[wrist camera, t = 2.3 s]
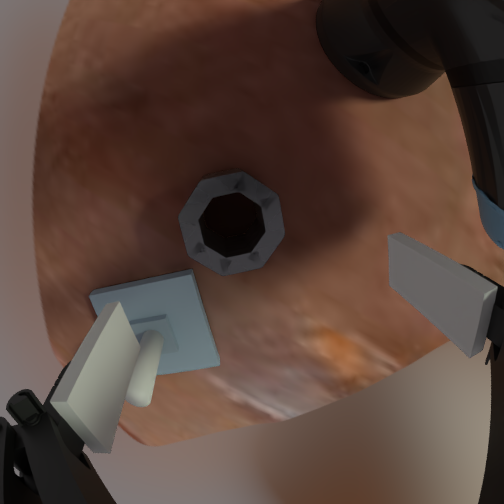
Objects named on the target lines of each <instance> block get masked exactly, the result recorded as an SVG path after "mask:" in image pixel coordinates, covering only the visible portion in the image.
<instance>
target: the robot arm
mask: <svg viewBox="0 0 504 504" xmlns="http://www.w3.org/2000/svg"><path fill="white" fill-rule="evenodd" d="M316 28H317V33H318V37H319V40H320V42H321V45H322V47H323V49H324V51H325V53H326V54H327V56H328V58H329V59H330V60H331V62H332V63H333V64H334V66H335V67H336V68H337V69H338V70H339V71H340V72H341V73H342V74H343V75H344V76H345V77H346V78H347V79H349V80H350V81H351V82H352V83H354V84H355V85H357V86H358V87H360V88H362V89H363V90H365V91H367V92H369V93H372V94H374V95H377V96H381V97H386V98H402V97H406V96H411V95H415V94H418V93H420V92H422V91H424V90H425V89H427V88H428V87H429V86H430V85H431V84H432V83H433V82H435V81H436V80H437V79H438V78H439V77H440V76H441V75H442V74H443V73H444V72H446V74H447V77H448V80H449V82H450V85H451V89H452V92H453V95H454V98H455V101H456V104H457V107H458V111H459V114H460V118H461V122H462V125H463V129H464V133H465V137H466V142H467V146H468V151H469V155H470V160H471V166H472V171H473V174H472V184H473V187H474V189H475V190H476V194H477V200H478V206H479V212H480V218H481V222H482V224H483V227H484V229H485V231H486V232H487V234H488V236H489V237H490V238H491V239H492V241H493V242H494V243H496V244H497V246H499V247H500V248H502V249H504V0H322V2H321V3H320V5H319V8H318V11H317V15H316ZM388 252H389V286H391V287H392V288H393V289H394V290H395V291H396V292H398V293H399V294H400V295H401V296H402V297H403V298H404V299H406V300H407V301H408V302H409V303H410V304H411V305H412V306H414V307H415V308H416V309H417V310H418V311H419V312H420V313H421V314H423V315H424V316H425V317H426V318H427V319H428V320H429V321H430V322H431V323H433V324H434V325H435V326H436V327H437V328H438V329H439V330H440V331H441V332H442V333H443V334H445V335H446V336H447V337H448V338H449V339H450V340H451V341H452V342H453V343H454V344H455V345H456V346H457V347H459V349H460V350H462V351H463V352H464V353H465V354H466V355H467V356H468V357H469V358H471V357H472V356H474V355H476V354H477V353H479V352H481V351H482V350H483V347H484V344H485V340H486V337H487V338H488V339H489V340H491V341H492V342H491V346H490V349H489V352H488V355H487V358H486V362H485V365H487V364H488V361H489V360H490V362H491V421H490V435H489V444H488V453H487V460H486V467H485V474H484V479H483V484H482V489H481V493H480V498H479V502H478V504H504V287H503V286H501V285H499V284H498V283H496V282H495V281H493V280H491V279H490V278H488V277H486V276H483V274H481V273H479V272H477V271H476V270H474V269H473V268H471V267H469V266H466V265H462V264H459V263H457V262H455V261H453V260H452V259H450V258H448V257H446V256H444V255H443V254H441V253H439V252H437V251H435V250H433V249H432V248H430V247H428V246H426V245H424V244H422V243H420V242H418V241H416V240H415V239H413V238H411V237H409V236H407V235H405V234H403V233H401V232H399V233H395V234H391V235H388ZM140 348H141V347H140V345H139V343H138V341H137V339H136V337H135V334H134V332H133V330H132V328H131V326H130V324H129V321H128V319H127V317H126V315H125V313H124V310H123V308H122V306H121V303H120V301H117V302H113V303H108V304H106V305H105V307H104V308H103V310H102V311H101V313H100V314H99V316H98V318H97V319H96V321H95V322H94V324H93V326H92V327H91V329H90V331H89V332H88V334H87V335H86V337H85V339H84V340H83V342H82V344H81V345H80V347H79V349H78V351H77V352H76V354H75V356H74V358H73V359H72V361H70V362H69V363H68V364H67V365H66V366H65V367H64V368H63V370H62V371H61V373H60V375H59V376H58V379H57V380H56V382H55V384H54V385H55V386H53V387H52V389H51V391H50V393H49V395H48V397H47V399H46V401H45V402H44V404H43V405H42V404H41V403H40V401H39V400H38V398H37V397H36V396H35V394H34V393H33V392H32V390H29V389H24V390H21V391H19V392H17V393H16V394H15V395H13V396H12V397H11V398H10V400H9V401H8V403H7V406H6V410H7V411H8V412H9V414H10V415H11V416H12V417H13V418H14V420H15V421H16V422H17V423H18V425H14V426H11V425H10V424H9V422H7V420H6V419H5V418H4V417H0V504H116V502H115V501H114V499H113V498H112V496H111V495H110V493H109V492H108V490H107V488H106V487H105V485H104V484H103V482H102V480H101V479H100V477H99V476H98V474H97V472H96V470H95V469H94V467H93V465H92V464H91V462H90V460H89V458H88V456H87V455H86V454H85V453H84V452H83V451H82V450H83V447H84V444H86V445H87V446H88V447H89V448H90V449H91V450H92V451H93V453H111V448H112V444H113V441H114V437H115V433H116V429H117V425H118V422H119V418H120V414H121V411H122V407H123V404H124V400H125V397H126V393H127V390H128V387H129V383H130V380H131V377H132V373H133V370H134V367H135V364H136V361H137V358H138V355H139V351H140ZM14 467H15V468H16V469H18V470H19V471H20V476H17V475H16V474H15V472H14Z"/></svg>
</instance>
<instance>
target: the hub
mask: <svg viewBox="0 0 504 504" xmlns="http://www.w3.org/2000/svg"><path fill="white" fill-rule="evenodd" d="M236 192H240V193H241V194H243V195H245V196H246V197H248V198H249V199H251V200H252V201H254V206H255V211H256V218H255V219H254V220H253V222H252V223H251V225H250V226H249V228H248V229H247V231H246V232H245V233H244V234H239V235H234V236H230V237H225V238H224V237H223V236H221V235H219V234H218V233H216V232H214V231H213V230H211V229H209V228H208V227H207V225H206V221H205V217H204V213H203V212H204V210H205V208H206V207H207V205H208V204H209V202H210V201H211V199H212V198H213V197H218V196H222V195H227V194H232V193H236ZM178 220H179V224H180V228H181V231H182V235H183V239H184V243H185V247H186V250H187V254H188V255H189V257H190V258H192V259H194V260H196V261H197V262H199V263H201V264H202V265H204V266H206V267H208V268H209V269H211V270H213V271H214V272H216V273H218V274H220V275H221V276H226V275H231V274H236V273H240V272H245V271H250V270H254V269H259V268H261V267H263V266H264V264H265V263H266V262H267V260H268V259H269V257H270V256H271V254H272V253H273V252H274V250H275V249H276V247H277V246H278V245H279V243H280V242H281V240H282V239H283V238H284V236H285V230H284V224H283V218H282V212H281V206H280V200H279V196H278V194H276V193H275V192H273V191H272V190H271V189H269V188H268V187H266V186H265V185H263V184H262V183H260V182H259V181H257V180H256V179H254V178H253V177H251V176H250V175H248V174H247V173H245V172H244V171H242V170H241V169H239V168H235V169H230V170H226V171H221V172H216V173H212V174H207V175H204V176H203V177H202V179H201V180H200V182H199V183H198V185H197V187H196V188H195V190H194V191H193V193H192V194H191V196H190V198H189V199H188V201H187V202H186V204H185V206H184V207H183V209H182V211H181V212H180V214H179V217H178Z"/></svg>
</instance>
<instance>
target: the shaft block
mask: <svg viewBox="0 0 504 504" xmlns="http://www.w3.org/2000/svg"><path fill="white" fill-rule="evenodd" d="M89 298H90V300H91V302H92V305H93V307H94V309H95V312H96V314H97V316H99V314H100V313H101V311H102V310H103V308H104V307H105V305H106V304H108V303H113V302H117V301H120V303H121V306H122V308H123V310H124V313H125V315H126V317H127V319H128V321H129V324H130V326H131V328H132V330H133V332H134V334H135V337H136V339H137V341H138V343H139V345H140V347H141V348H140V351H139V355H138V358H137V361H136V364H135V367H134V370H133V373H132V377H131V380H130V383H129V387H128V390H127V393H126V397H125V400H126V401H127V402H129V403H130V404H132V405H134V406H137V407H145V406H148V405H149V404H150V402H151V397H152V393H153V388H154V383H155V378H156V375H162V374H170V373H177V372H184V371H191V370H197V369H203V368H209V367H215V366H220V357H219V354H218V351H217V348H216V345H215V342H214V339H213V336H212V333H211V330H210V326H209V323H208V320H207V317H206V314H205V310H204V307H203V304H202V300H201V297H200V294H199V290H198V287H197V283H196V280H195V276H194V273H193V269H189V270H184V271H179V272H175V273H170V274H166V275H161V276H156V277H152V278H147V279H142V280H138V281H133V282H128V283H123V284H119V285H114V286H109V287H105V288H100V289H95V290H93V291H92V292H91V294H90V295H89Z"/></svg>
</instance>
